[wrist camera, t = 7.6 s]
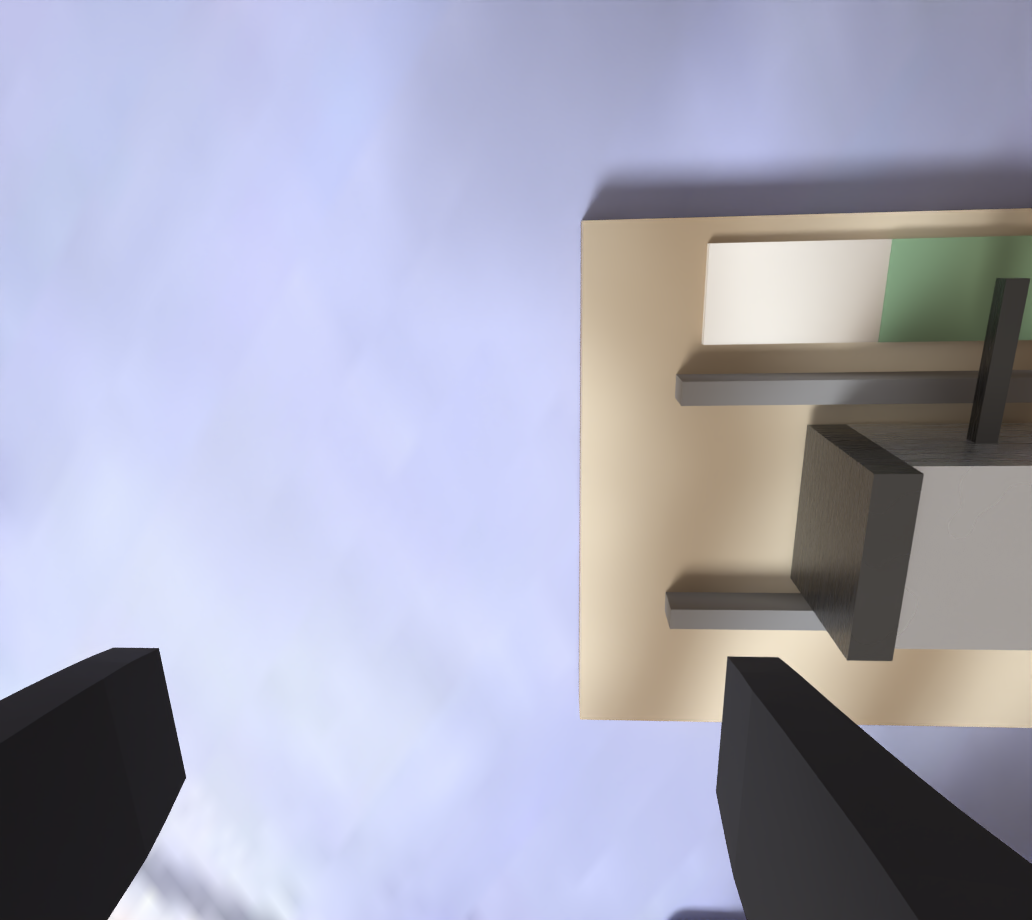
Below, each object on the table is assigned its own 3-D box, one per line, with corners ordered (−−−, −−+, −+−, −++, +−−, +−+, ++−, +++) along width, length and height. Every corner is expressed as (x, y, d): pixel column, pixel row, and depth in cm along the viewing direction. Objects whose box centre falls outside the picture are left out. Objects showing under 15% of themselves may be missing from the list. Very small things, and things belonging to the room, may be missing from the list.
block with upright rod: (789, 577, 15) (847, 660, 12) (823, 277, 13) (901, 288, 10) (1010, 579, 15) (1124, 663, 12) (1078, 272, 13) (1235, 282, 10)
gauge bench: (578, 694, 18) (585, 853, 14) (581, 222, 15) (591, 212, 10) (1253, 705, 17) (1519, 883, 12) (1439, 197, 14) (1917, 175, 9)
